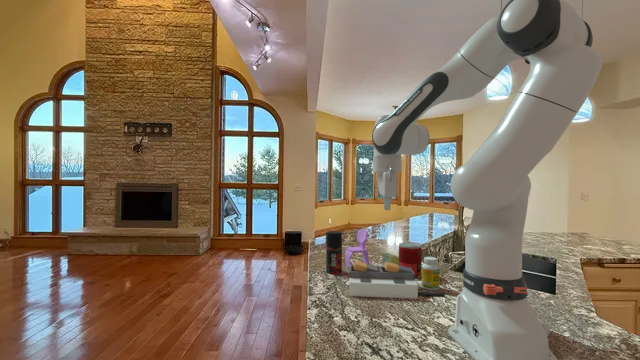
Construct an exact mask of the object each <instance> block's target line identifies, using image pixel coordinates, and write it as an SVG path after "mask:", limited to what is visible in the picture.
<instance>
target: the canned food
mask: <svg viewBox="0 0 640 360" xmlns="http://www.w3.org/2000/svg"><path fill="white" fill-rule="evenodd" d="M398 257H399V265H401V266H404V267H411V269H412V270H413V272H414V273H415V278H419V277H422V245H421V244H419V243H415V242H401V243H398Z"/></svg>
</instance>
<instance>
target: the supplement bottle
mask: <svg viewBox="0 0 640 360" xmlns="http://www.w3.org/2000/svg"><path fill="white" fill-rule="evenodd" d="M423 262H424V263H423V264H421V287H422V288H423V289H424V290H427V291H437V290H438V291H439V290H440V266H439V265H438V258H437V257H434V256H425V257H423Z"/></svg>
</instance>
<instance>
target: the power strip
mask: <svg viewBox="0 0 640 360" xmlns="http://www.w3.org/2000/svg"><path fill="white" fill-rule="evenodd" d="M377 267H378V270H379V272H365V271H357V270H354V265H351V266H350V268H348V269H349V271H348V273H349V274H348V277H349V279H348V287H349V288H348V296H349V297H368V298H370V297H371V298H391V299H392V298H395V299H413V300H414V299H416V300H417V299H419V297H418V296H432V297H444V296H445V295H446V294H445V292H440V291H439V292H438V291H437V292H435V291H419V290H418V289H419V287H418V286H419V285H418V282H417V281H416V280H415V279H416V277H415V273H414V272H413V270H412V269H411V267H408V268H409V269H410V271H411V273H397V272H389V271H386V270H385V267H384V266H379V265H378V266H377Z"/></svg>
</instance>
